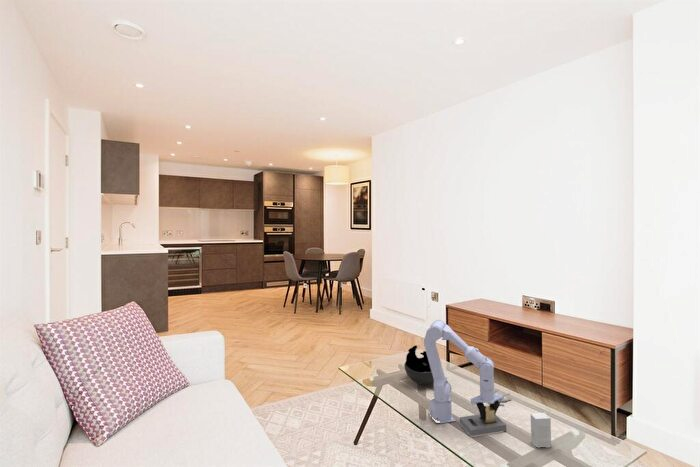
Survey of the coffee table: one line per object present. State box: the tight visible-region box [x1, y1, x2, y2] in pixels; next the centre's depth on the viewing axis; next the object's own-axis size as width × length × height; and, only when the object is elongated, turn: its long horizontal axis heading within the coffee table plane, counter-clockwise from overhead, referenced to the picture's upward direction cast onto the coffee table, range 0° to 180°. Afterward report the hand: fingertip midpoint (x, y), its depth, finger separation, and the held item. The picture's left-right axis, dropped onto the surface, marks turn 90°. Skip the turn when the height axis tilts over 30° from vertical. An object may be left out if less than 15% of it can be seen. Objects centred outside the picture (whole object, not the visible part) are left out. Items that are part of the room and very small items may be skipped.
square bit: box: [481, 404, 496, 425], centre depth 159 cm, size 4×4×7 cm
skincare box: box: [530, 412, 552, 448], centre depth 146 cm, size 6×4×12 cm
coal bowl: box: [403, 345, 434, 386], centre depth 203 cm, size 20×20×19 cm
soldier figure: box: [494, 388, 513, 406], centre depth 180 cm, size 8×5×12 cm
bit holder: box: [459, 413, 507, 438], centre depth 159 cm, size 16×10×3 cm, turn 100°
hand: (487, 418), depth 160 cm, fingers closed on square bit, 4 cm apart
